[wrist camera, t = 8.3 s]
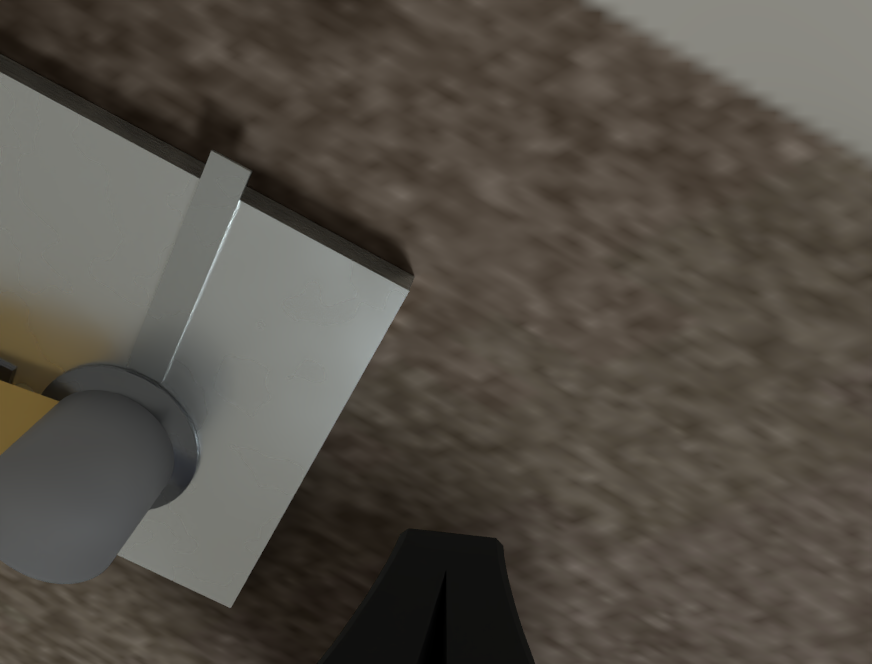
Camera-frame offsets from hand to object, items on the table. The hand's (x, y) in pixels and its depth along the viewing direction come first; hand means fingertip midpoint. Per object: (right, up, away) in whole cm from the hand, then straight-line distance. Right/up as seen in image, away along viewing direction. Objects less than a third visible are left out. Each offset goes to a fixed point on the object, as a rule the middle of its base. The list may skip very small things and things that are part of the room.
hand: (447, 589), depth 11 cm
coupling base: (-11, +4, +10) cm, 15 cm away
